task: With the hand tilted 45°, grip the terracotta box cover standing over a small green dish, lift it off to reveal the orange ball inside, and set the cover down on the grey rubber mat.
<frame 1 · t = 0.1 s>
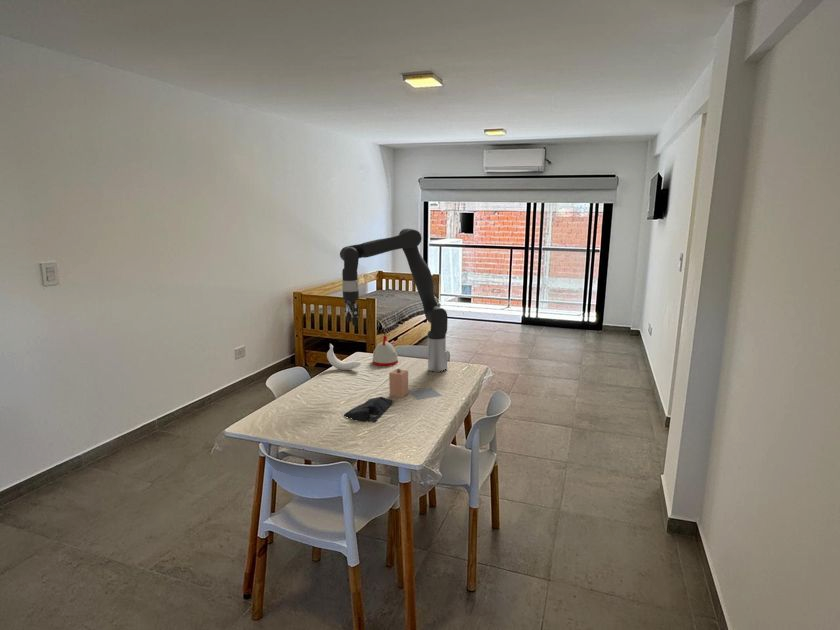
hand: (351, 323, 236), 29 cm above the table, tool pointing down, fingers open, 8 cm apart
dish: (400, 395, 223), on the table
orange ball: (400, 393, 223), point 1 cm above the table, touching dish
kitchen timer: (385, 362, 274), on the table
mat: (424, 394, 224), on the table
cover: (399, 395, 223), on the table
banana: (344, 370, 261), on the table
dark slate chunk: (370, 412, 206), on the table
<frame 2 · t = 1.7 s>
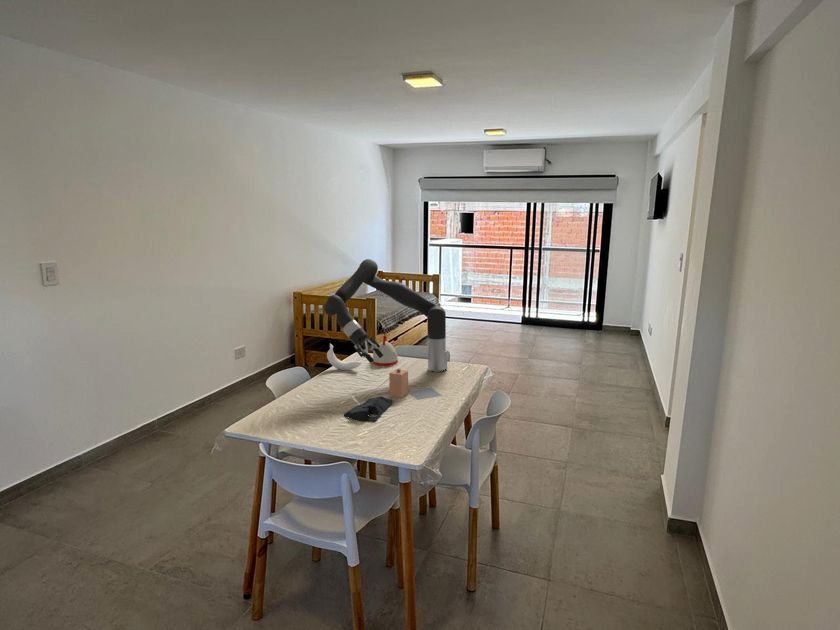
hand: (377, 359, 225), 15 cm above the table, tool tilted 45°, fingers open, 8 cm apart
nothing on the table moved.
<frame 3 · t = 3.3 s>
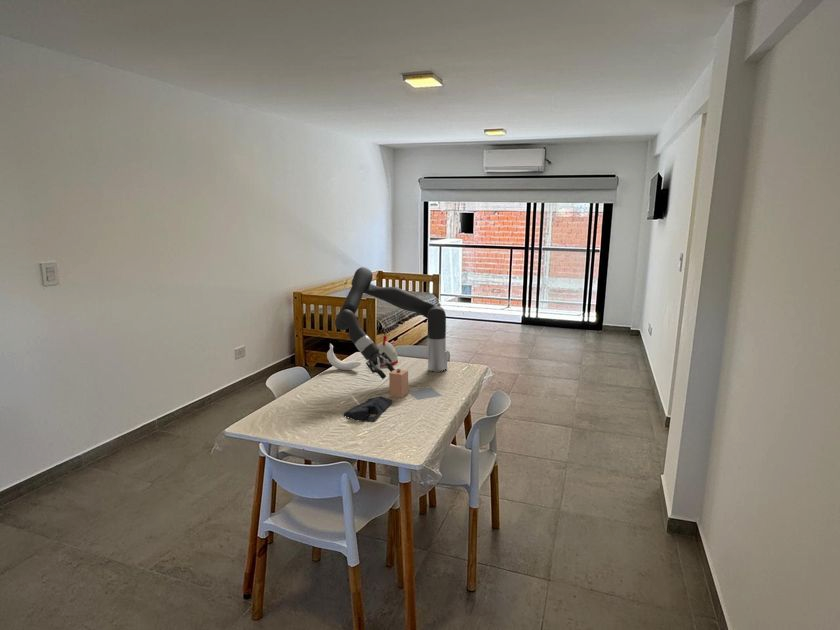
hand: (389, 374, 224), 9 cm above the table, tool tilted 45°, fingers open, 8 cm apart
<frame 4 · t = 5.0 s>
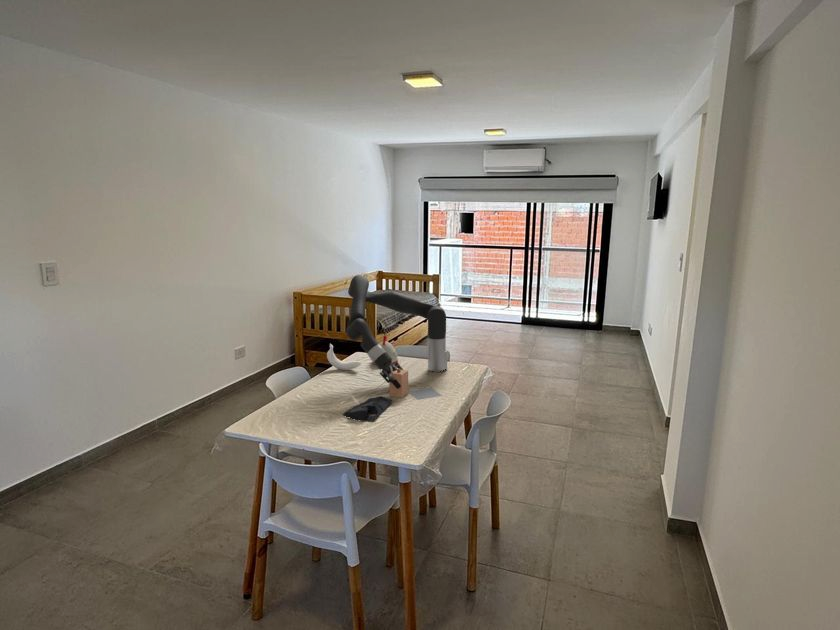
hand: (403, 385, 221), 5 cm above the table, tool tilted 45°, fingers closed on cover, 6 cm apart
cover: (399, 395, 223), on the table, touching gripper
everything else where it was.
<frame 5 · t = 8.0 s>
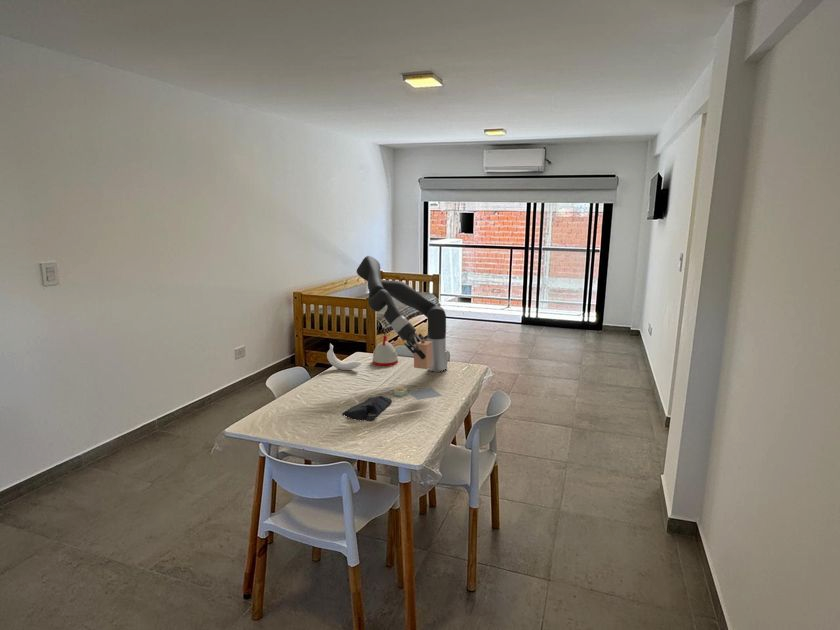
hand: (427, 356, 219), 18 cm above the table, tool tilted 45°, fingers closed on cover, 6 cm apart
cover: (423, 366, 221), point 13 cm above the table, touching gripper
when the fingers open (7 cm above the table, at t = 10.6 s): cover drops 1 cm, resting on mat.
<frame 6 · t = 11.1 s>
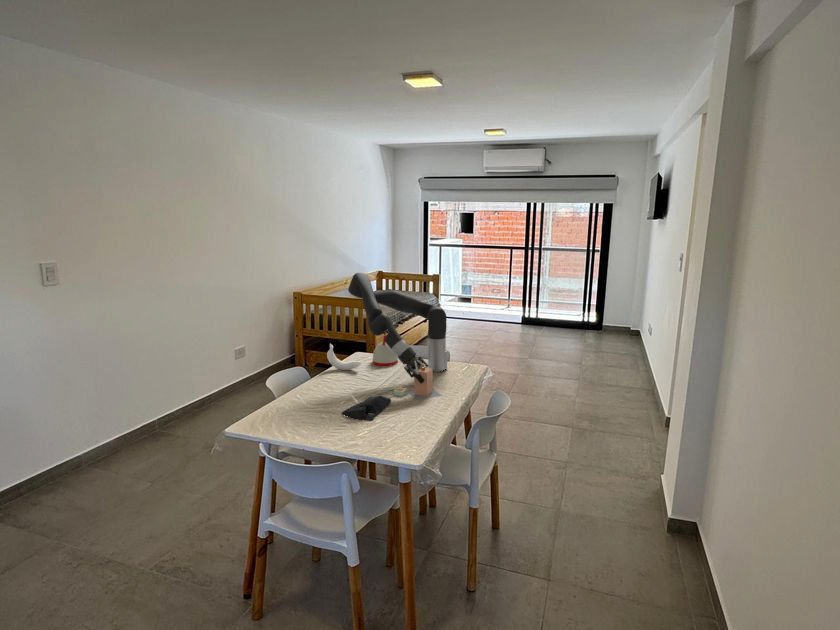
hand: (426, 379, 222), 7 cm above the table, tool tilted 45°, fingers open, 8 cm apart
cover: (423, 393, 224), point 1 cm above the table, touching mat
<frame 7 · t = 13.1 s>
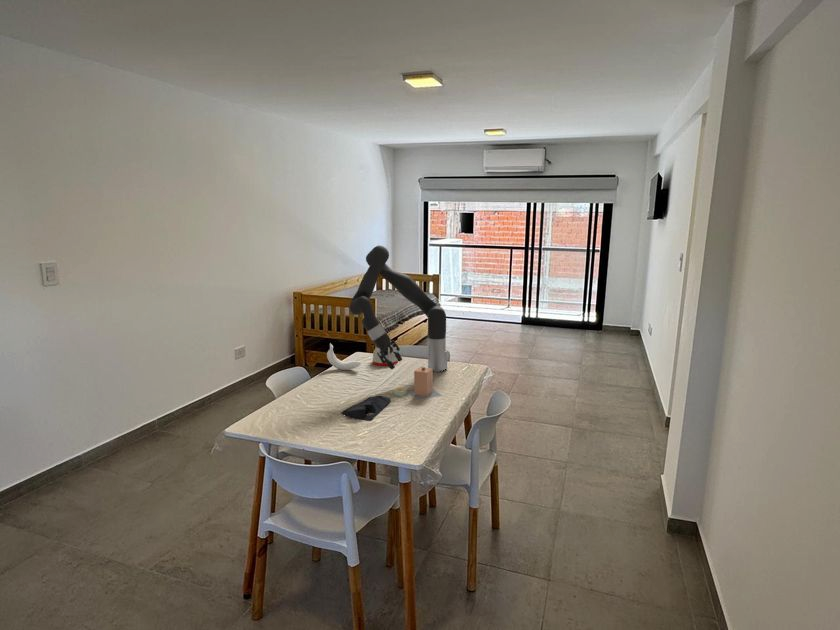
hand: (396, 364, 233), 11 cm above the table, tool tilted 30°, fingers open, 8 cm apart
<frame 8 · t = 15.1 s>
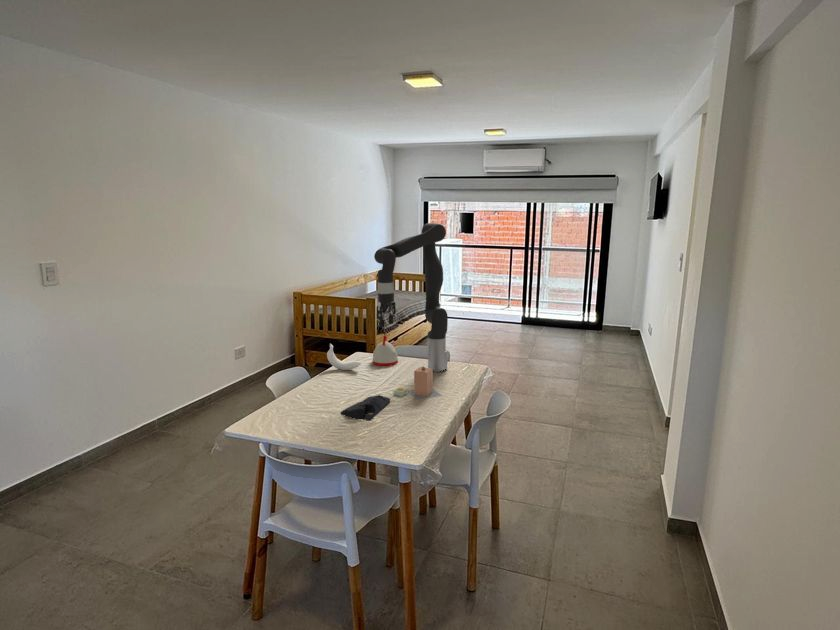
hand: (386, 325, 235), 28 cm above the table, tool pointing down, fingers open, 8 cm apart
at the end: cover inside the target area on the mat (0.3 cm from its centre), point 0.6 cm above the mat's base; cover tilted 0°; the gripper is holding nothing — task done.
